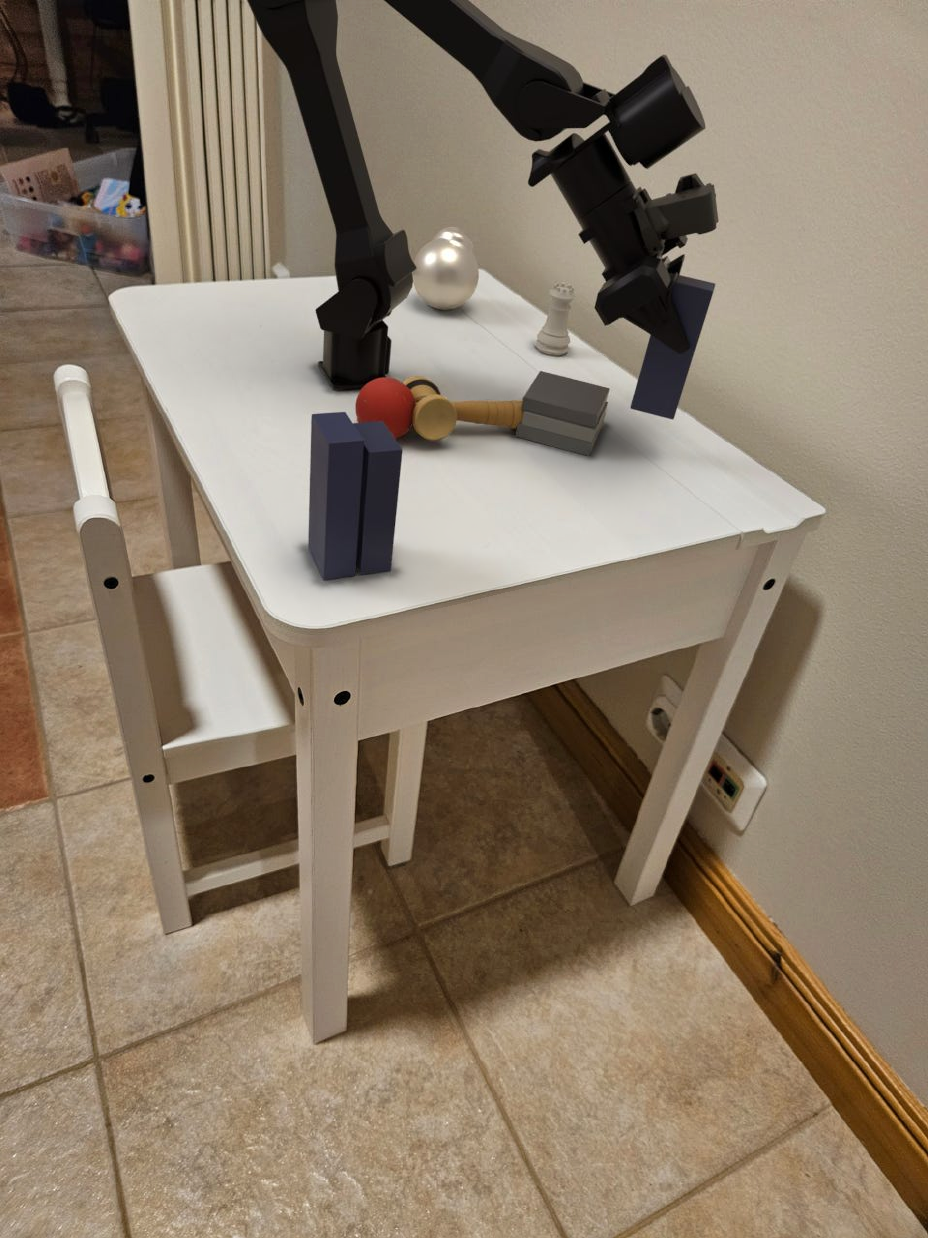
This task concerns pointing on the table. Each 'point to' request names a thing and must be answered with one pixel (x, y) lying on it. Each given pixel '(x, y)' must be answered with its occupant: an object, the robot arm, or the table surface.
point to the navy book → (672, 352)
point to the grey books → (563, 412)
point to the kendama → (427, 408)
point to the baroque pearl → (446, 270)
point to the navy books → (352, 495)
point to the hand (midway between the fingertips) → (686, 346)
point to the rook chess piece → (556, 322)
